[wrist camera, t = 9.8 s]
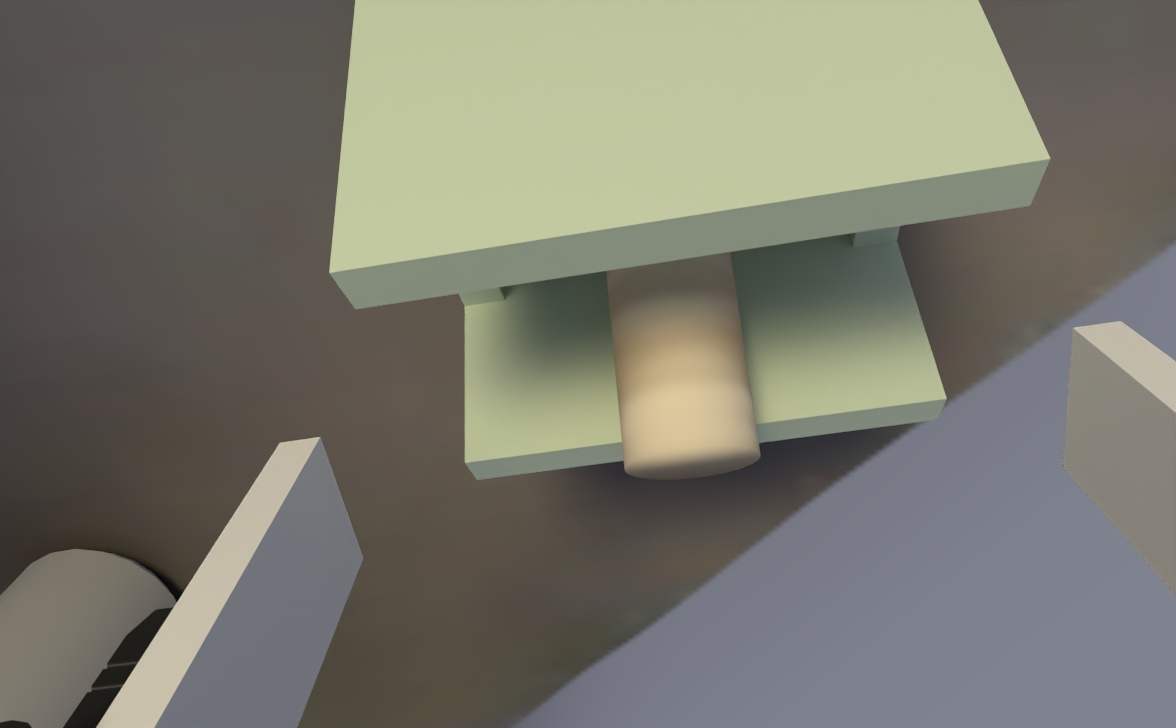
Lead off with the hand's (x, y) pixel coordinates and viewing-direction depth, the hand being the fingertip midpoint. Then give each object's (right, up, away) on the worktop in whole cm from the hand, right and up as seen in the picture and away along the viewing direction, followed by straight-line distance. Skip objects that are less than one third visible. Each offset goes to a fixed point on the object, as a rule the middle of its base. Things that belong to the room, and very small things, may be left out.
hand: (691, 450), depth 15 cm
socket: (0, +10, +14) cm, 17 cm away
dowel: (0, +10, +9) cm, 14 cm away
